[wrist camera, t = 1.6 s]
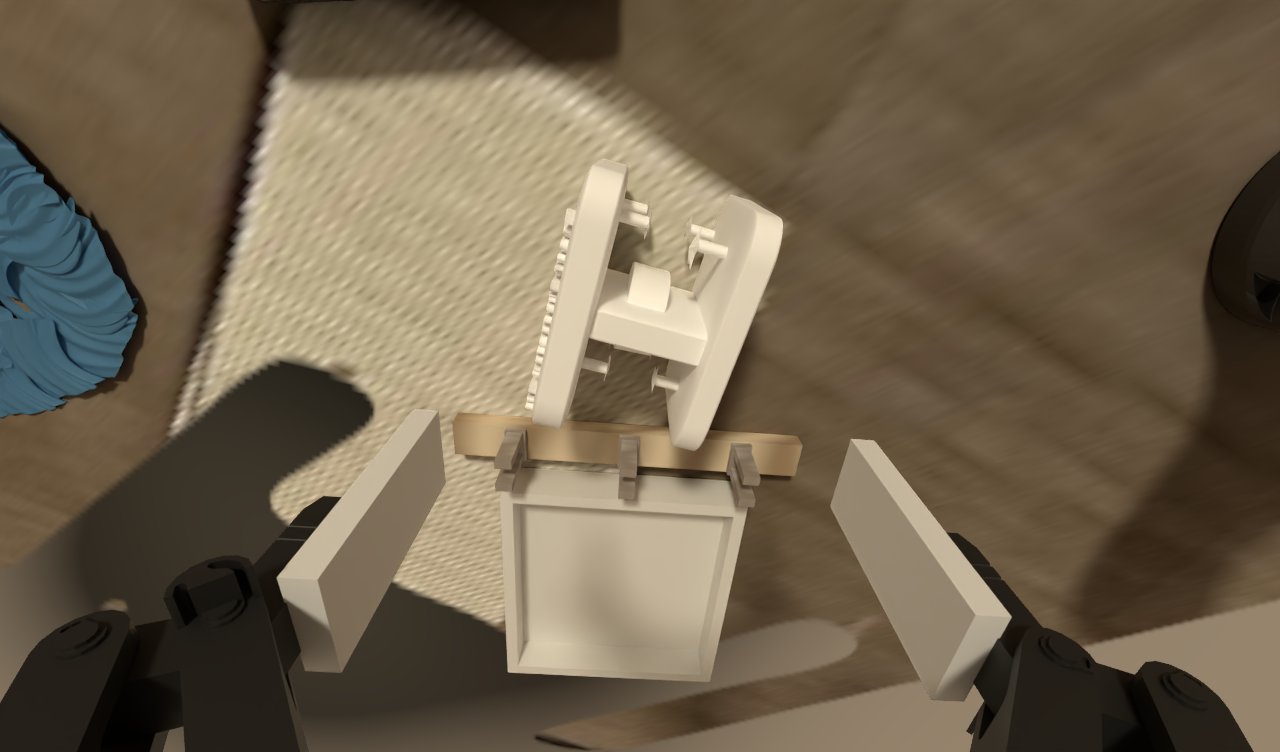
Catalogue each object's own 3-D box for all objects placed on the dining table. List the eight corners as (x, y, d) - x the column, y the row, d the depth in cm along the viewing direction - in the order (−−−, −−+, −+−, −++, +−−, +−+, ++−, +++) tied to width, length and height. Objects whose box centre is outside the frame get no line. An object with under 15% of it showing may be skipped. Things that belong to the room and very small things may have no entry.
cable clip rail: (797, 436, 42) (820, 480, 37) (789, 465, 44) (811, 512, 38) (458, 412, 41) (431, 454, 36) (461, 443, 43) (435, 488, 37)
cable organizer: (679, 388, 40) (694, 476, 30) (549, 354, 39) (517, 435, 29) (747, 197, 34) (796, 225, 24) (595, 150, 33) (576, 157, 23)
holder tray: (739, 481, 44) (747, 508, 41) (705, 650, 54) (709, 682, 51) (509, 466, 44) (499, 492, 40) (515, 640, 53) (508, 672, 50)
